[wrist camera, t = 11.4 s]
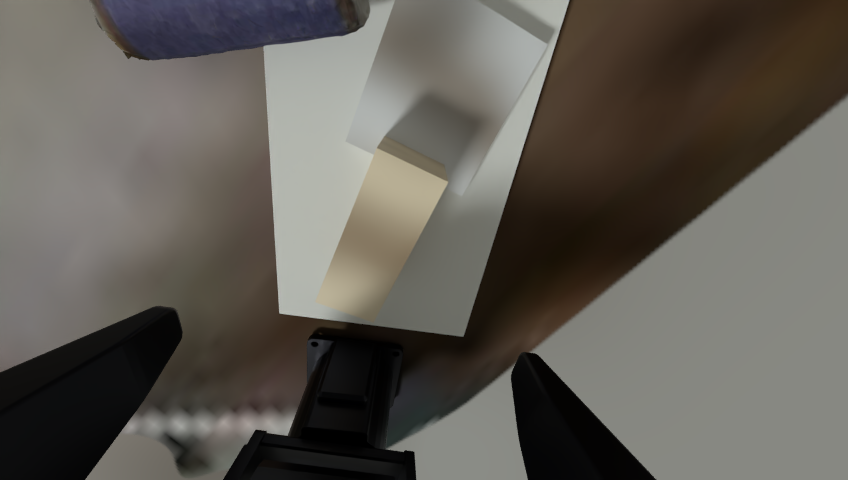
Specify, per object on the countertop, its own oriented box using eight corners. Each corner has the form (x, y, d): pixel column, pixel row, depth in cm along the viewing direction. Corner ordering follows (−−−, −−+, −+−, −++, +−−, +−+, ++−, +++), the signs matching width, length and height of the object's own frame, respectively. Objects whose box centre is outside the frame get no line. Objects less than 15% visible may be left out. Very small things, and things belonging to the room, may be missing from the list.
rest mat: (462, 331, 21) (463, 336, 21) (282, 308, 20) (279, 313, 20) (581, -52, 12) (587, -57, 11) (259, -130, 11) (252, -139, 10)
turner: (404, 290, 19) (401, 332, 16) (308, 253, 18) (283, 291, 14) (541, 46, 13) (578, 37, 10) (410, -35, 12) (406, -75, 9)
